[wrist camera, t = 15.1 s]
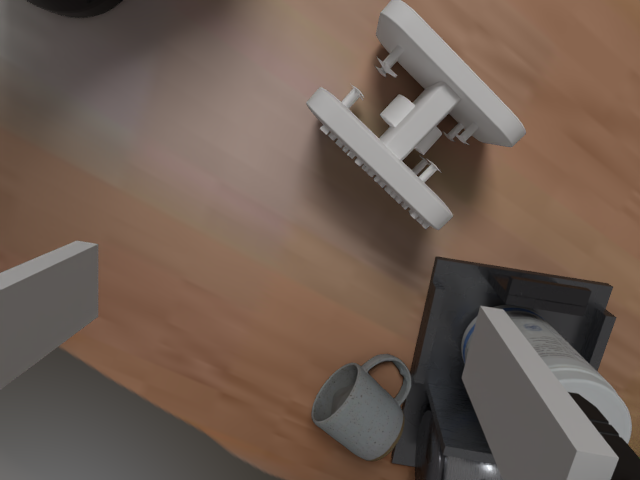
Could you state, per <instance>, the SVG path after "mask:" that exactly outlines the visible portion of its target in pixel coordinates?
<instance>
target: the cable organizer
mask: <svg viewBox="0 0 640 480" xmlns="http://www.w3.org/2000/svg"><path fill="white" fill-rule="evenodd" d="M376 36H377V38H378V40H379V41H380V43H381V44H382V45H383V47H384V48H385V49H386V50H387V51H388V52H389V55H388V56H387V58H386V59H385V60H384V61H383V62H382V61H381V60H380V59H379V58H378V57H377V56H376V57H377V58H378V60H379V62H380V64H381V65H382V67H381V68H378V67H376V66H375V67H376V68H377V70H378V71H379V73H380V74H382V75H383V76H384V77H385V78H386V75H385V74H386V73H389V74H390V75H392V76H393V77H395V75H396V74H395V73H394V72H393V71H392V70H391V67H392V66H393V65H394V64H395V63H396V62H398V63H399V64H400V65H401V66H402V67H403V68H404V69H405V70H406V71H407V72H408V73H409V74H410V75H411V76H412V77H413V78H414V79H415V80H416V81H417V82H418V83H419V84H420V85H421V86H422V87H423V88H424V89H425V90H424V91H423V92H422V93H421V94H420V95H419V96H418V97H417V99H416V100H415V101H414V102H413V103H412V102H411V101H410V100H408V99H407V98H406V97H404V96H402V95H400V94H398V95H397V96H396V98H395V99H394V100H393V101H392V102H391V103H390V104H389V105H388V106H387V107H386V108H385V109H384V110H383V112H382V113H381V114H380V116H381V117H382V118H383V120H384V121H385V122H386V123H387V124H388V125H389V126H390V127H389V128H388V129H387V130H386V131H385V132H384V134H383V135H382V136H381V137H380V138H378V137H377V136H376V135H375V134H374V133H373V132H372V131H371V130H370V129H369V128H368V127H367V126H366V125H365V124H363V123H362V122H361V121H360V120H359V119H358V118H357V117H356V116H355V115H354V114H353V113H352V112H351V111H350V110H349V108H350V107H351V106H352V105H353V104H354V103H355V102H356V101H357V99H358V98H359V97H360V98H361V99H362V97H363V98H364V96H363V94H362V93H361V91H360V90H359V89H357V88H356V87H354V86H353V85H352V86H353V87H354V88H353V89H352V90H351V92H350V93H349V94H348V95H347V96H346V97H345V98H344V99H343V101H342V102H341V101H340V100H338V99H337V98H336V97H335V96H334V95H333V94H331V93H330V92H329V91H327V90H326V89H324V88H322V87H319V89H318V90H317V91H316V92H315V93H314V94H313V96H312V97H311V98H310V99H309V100H308V101H307V106H308V108H309V109H310V110H311V112H312V113H313V114H314V115H315V116H316V118H317V119H318V120H319V121H320V122H321V123H322V124H323V126H322V127H321V128H320V129H321V130H322V131H323V132H324V133H325V134H326V135H327V134H328V133H329V131H330V132H331V133H330V134H329V135H328V136H329V137H330V138H331V139H332V140H333V141H334V140H335V139H336V138H338V140H337V141H336V142H335V143H336V144H337V145H338V146H339V147H340V148H342V147H343V145H345V146H344V147H343V149H342V150H343V151H344V152H345V153H346V152H347V151H348V150H350V151H349V152H348V153H347V155H349V157H351V158H352V159H353V158H354V157H355V156H356V157H357V158H356V159H355V163H356V164H357V165H358V166H361V165H362V164H364V165H363V166H362V169H363V170H364V171H365V172H366V171H367V174H368V175H369V176H370V177H373V176H374V175H376V177H375V178H374V181H376V182H378V184H379V185H380V186H381V187H382V188H383V187H384V186H385V185H387V186H386V187H385V188H384V190H385V191H386V192H387V193H388V194H390V196H391V197H392V198H393V199H395V200H396V201H397V202H398V203H399V204H400V203H401V202H402V201H403V202H402V203H401V206H402V207H403V208H404V209H405V210H406V209H407V208H408V207H409V208H410V210H409V211H408V212H409V213H410V215H411V216H412V217H413V218H414V219H416V220H417V222H419V223H420V224H421V225H422V226H423V227H424V228H425V229H427V228H428V227H429V226H431V227H433V228H435V229H437V230H440V229H441V228H442V227H443V226H444V225H445V224H446V223H447V222H448V221H449V220H450V219H451V218H452V217H453V214H452V212H451V211H450V209H449V208H448V207H447V205H446V204H445V203H444V202H443V201H442V200H441V199H440V198H439V197H438V196H437V195H436V194H435V193H434V192H433V191H432V190H431V189H430V188H429V187H428V186H427V185H426V184H425V182H426V181H427V180H428V179H429V178H430V177H431V176H432V175H433V174H434V173H435V172H436V171H437V170H439V169H438V167H437V166H436V165H435V164H434V163H432V162H431V161H429V160H428V159H427V160H428V161H429V163H430V164H431V165H430V164H429V163H428V162H427V160H426V159H425V158H423V157H422V156H420V155H419V154H418V155H419V156H420V157H421V158H422V160H421V161H420V162H419V163H418V164H417V165H416V166H415V167H414V168H413V169H412V170H411V169H410V168H409V167H408V166H407V165H406V164H405V163H404V162H403V161H402V160H404V159H405V158H406V157H407V156H408V155H409V153H410V152H411V151H412V150H413V149H415V150H417V151H418V152H419V153H421V154H422V155H424V154H425V153H426V152H427V151H428V150H429V149H430V147H431V146H432V145H433V144H434V143H435V142H436V141H437V140H438V139H439V137H440V136H441V135H442V132H441V131H440V130H439V129H438V127H437V125H438V124H439V123H440V122H441V121H442V120H443V119H444V118H445V117H446V116H447V115H448V114H450V115H451V116H452V117H453V118H454V119H455V120H456V121H457V122H458V124H457V125H456V126H455V127H454V128H453V129H452V130H451V131H450V132H449V133H448V134H446V133H445V132H444V131H443V130H442V131H443V132H444V135H445V136H446V137H447V138H448V139H449V140H451V141H454V140H453V138H454V137H455V136H456V137H457V138H458V139H459V140H460V141H461V142H463V143H464V144H465V143H466V144H468V143H467V142H466V140H467V139H468V138H469V137H470V136H471V135H472V136H473V137H474V138H476V139H477V140H478V141H480V142H482V143H488V144H494V145H500V146H506V147H513V146H514V145H515V144H516V143H517V142H518V141H519V140H520V139H521V138H522V137H523V136H524V135H525V134H526V130H525V128H524V126H523V124H522V123H521V122H520V120H519V119H518V118H517V116H516V115H515V114H514V113H513V112H512V111H511V110H510V109H509V108H508V107H507V106H506V105H505V104H504V103H503V102H502V101H501V99H500V98H499V97H498V96H497V95H496V94H495V93H494V92H493V91H492V90H491V89H490V88H489V87H488V86H487V85H486V84H485V83H484V82H483V81H482V80H481V79H480V78H479V77H478V76H477V75H476V74H475V73H474V72H473V70H472V69H471V68H470V67H469V66H468V65H467V64H466V63H465V62H464V61H463V60H462V59H461V58H460V57H459V56H458V55H457V54H456V53H455V52H454V51H453V50H452V49H451V48H450V47H449V46H448V45H447V44H446V43H445V42H444V40H443V39H442V38H441V37H440V36H439V35H438V34H437V33H436V32H435V31H434V30H433V29H432V28H431V27H430V26H429V25H428V24H427V23H426V22H425V21H424V20H423V19H422V18H421V17H420V16H419V15H418V14H417V13H416V12H415V11H414V10H413V9H412V8H411V7H410V6H408V5H407V4H406V3H404V2H403V1H401V0H391V1H390V2H389V4H388V5H387V6H386V7H385V8H384V9H383V10H382V12H381V13H380V16H379V21H378V26H377V31H376ZM396 76H397V75H396ZM395 78H396V77H395ZM360 95H361V96H362V97H361V96H360ZM362 100H363V99H362ZM463 128H464V129H465V131H464V132H463V133H462V134H461V135H460V136H459V135H458V133H459V132H460V131H461V130H462V129H463ZM454 142H455V141H454ZM468 145H469V144H468ZM427 164H429V165H430V166H429V167H428V168H427V169H426V170H425V171H424V172H423V173H422V174H421V175H420V176H419V177H418V176H417V174H418V173H419V172H420V171H421V170H422V169H423V168H424V167H425V166H426V165H427ZM439 171H440V170H439ZM440 172H441V171H440Z"/></svg>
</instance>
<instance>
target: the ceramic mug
mask: <svg viewBox="0 0 640 480" xmlns="http://www.w3.org/2000/svg"><path fill="white" fill-rule="evenodd" d="M383 361H392V362H393V363H394V364H395V365H396V366H397V367H398V369H399V370H400V374H401V375H403V376H404V380H403V385H402V387H401V390H400V392H399V393H398V395H397V396H396V397H395V398H393V397H392V396H391V395H390V394H389V393H388V392H387V391H386V390H385V389H383V388H382V387H381V386H380V385H379V384H378V383H377V382H376V381H375V380H374V379H373V378H372V377H371V376H370V375H369V374H368V371H369V369H371V368H372V367H374V366H375V365H377V364H378V363H380V362H383ZM410 389H411V375H410V372H409V370H408V368H407V367H406V365H405V364H404V363H403V362H402V361H401V360H400V359H398V358H397V357H395V356H392V355H390V354H380V355H377V356H375V357H373V358H371V359H370V360H368V361H367V362H366V363H365V364H363V365H362V366H360V365H358V364H357V363H349V364H346V365H344V366H343V367H341V368H340V369H338V370H337V371H336V372H335V373H334V374H332V376H331V377H329V379H328V380H327V381H326V382H325V384H324V385H323V386H322V388H321V389H320V391H319V393H318V394H317V396H316V399H315V401H314V404H313V408H312V420H313V422H314V423H315V424H316V425H317V426H318V427H320V428H321V429H322V430H324V431H325V432H326V433H328V434H329V435H330V436H331V437H333V438H334V439H335V440H337V441H338V442H339V443H341V444H342V445H343V446H345V447H346V448H347V449H349V450H350V451H351V452H352V453H354V454H355V455H357V456H359V457H361V458H363V459H365V460H367V461H376V460H379V459H381V458H383V457H384V456H386V455H387V454H388V453H390V452H391V451H392V450H393V448H394V447H395V446H396V444H397V443H398V441H399V440H400V438H401V435H402V432H403V429H404V421H405V418H404V413H403V411H402V409H401V407H400V405H401V404H402V403H403V402H404V400H405V399H406V398H407V396H408V394H409V391H410Z"/></svg>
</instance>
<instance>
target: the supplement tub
mask: <svg viewBox="0 0 640 480" xmlns="http://www.w3.org/2000/svg"><path fill="white" fill-rule="evenodd" d="M492 308H497V309H503V310H504V311H505V312H506V313H507V315H508V316H509V317H510V319H511V320H512V321H513V322H514V324H515V325H516V326H517V328H518V329H519V330H520V331H521V333H522V334H523V335H524V337H525V338H526V339H527V340H528V342H529V343H530V344H531V346H532V347H533V348H534V349H535V351H536V352H537V353H538V355H539V356H540V357H541V358H542V360H543V361H544V362H545V364H546V365H547V366H548V367H549V369H550V370H551V371H552V373H553V374H554V375H555V376H556V378H557V379H558V380H559V382H560V383H561V384H562V385H563V387H564V388H565V389H566V391H567V392H572V393H578V394H580V395H581V396H582V397H584V398H585V399H586V400H588V401H589V402H590V403H592V404H593V405H594V406H596V407H597V408H598V410H599V411H600V412H601V413H602V414H603V415H604V417H605V418H606V419H607V420H608V421H609V425H612V426H613V427H614V429H615V430H616V431H617V432H618V433H619V437H622V438H623V439H624V441H625V442H626V443H627V444H628V443H629V440H630V436H631V430H632V424H631V417H630V414H629V411H628V409H627V407H626V405H625V403H624V402H623V400H622V399H621V398H620V397H619V396H618V394H617V393H616V391H615V390H614V388H613V387H612V386H611V385H610V384H609V383H608V382H607V381H606V380H605V379H604V378H603V377H602V376H601V375H600V374H599V373H598V372H597V371H596V370H595V369H594V368H593V367H592V366H591V365H590V364H589V363H588V362H587V361H586V360H585V359H584V358H583V357H582V356H581V355H580V354H579V353H578V352H577V351H576V350H575V349H574V348H573V347H572V346H571V345H570V344H569V343H568V342H567V341H566V340H565V339H564V338H563V337H562V336H561V335H560V334H559V333H558V332H557V331H556V330H555V329H554V328H553V327H552V326H551V325H550V324H549V323H548V322H547V321H545V320H544V319H543V318H542V317H541V316H540V315H539V314H538V313H536V312H534V311H533V310H531V309H529V308H526V307H521V306H514V305H500V306H496V307H492ZM476 320H477V317H476V318H475V319H474V320H473V321H472V322H471V323H470V324H469V326H468V327H467V329H466V331H465V333H464V335H463V338H462V343H461V352H462V358H463V361H464V363H466V359H467V355H468V351H469V347H470V343H471V339H472V336H473V332H474V328H475V324H476Z"/></svg>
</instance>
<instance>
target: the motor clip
mask: <svg viewBox="0 0 640 480" xmlns="http://www.w3.org/2000/svg"><path fill="white" fill-rule="evenodd" d="M612 288H613V287H612V286H611V285H609V284H608V283H601V282H595V281H589V280H582V279H576V278H570V277H563V276H557V275H550V274H544V273H538V272H531V271H525V270H519V269H512V268H506V267H500V266H493V265H487V264H480V263H474V262H468V261H461V260H455V259H449V258H442V257H436V258H435V263H434V267H433V272H432V276H431V281H430V285H429V290H428V294H427V299H426V303H425V308H424V312H423V317H422V321H421V326H420V330H419V335H418V339H417V344H416V348H415V353H414V357H413V362H412V366H411V371H410V375H411V389H410V391H409V394H408V396H407V398H406V399H405V400H404V402H403V407H402V411H403V413H404V418H405V421H404V429H403V432H402V435H401V438H400V440H399V441H398V443H397V444H396V446H395V447H394V448H393V452H392V456H391V458H392V463H396V464H402V465H407V466H413V467H415V480H503V479H502V477H501V474H500V472H499V469H498V467H497V464H496V462H495V459H494V457H493V454H492V452H491V449H490V447H489V445H488V442H487V440H486V437H485V435H484V432H483V430H482V427H481V425H480V422H479V420H478V417H477V415H476V412H475V410H474V408H473V405H472V403H471V400H470V398H469V395H468V393H467V390H466V388H465V385H464V383H463V380H462V374H463V370H464V366H465V363H464V361H463V358H462V352H461V343H462V338H463V335H464V333H465V331H466V329H467V327H468V326H469V324H470V323H471V322H472V321H473V320H474V319H475V318H476V317H477V316H478V312H479V309H480V306H485V307H491V308H492V307H496V306H500V305H514V306H521V307H526V308H529V309H531V310H533V311H534V312H536V313H538V314H539V315H540V316H541V317H542V318H543V319H544V320H545V321H547V322H548V323H549V324H550V325H551V326H552V327H553V328H554V329H555V330H556V331H557V332H558V333H559V334H560V335H561V336H562V337H563V338H564V339H565V340H566V341H567V342H568V343H569V344H570V345H571V346H572V347H573V348H574V349H575V350H576V351H577V352H578V353H579V354H580V355H581V356H582V357H583V358H584V359H585V360H586V361H587V362H588V363H589V364H590V365H591V366H592V367H593V368H594V369H595V370H596V371H597V370H598V368H599V365H600V362H601V359H602V356H603V354H604V351H605V348H606V345H607V342H608V339H609V337H610V334H611V331H612V328H613V325H614V323H615V320H616V317H615V316H614V315H612V314H611V313H610V312H608V311H607V310H606V306H607V303H608V300H609V297H610V294H611V291H612Z"/></svg>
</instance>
